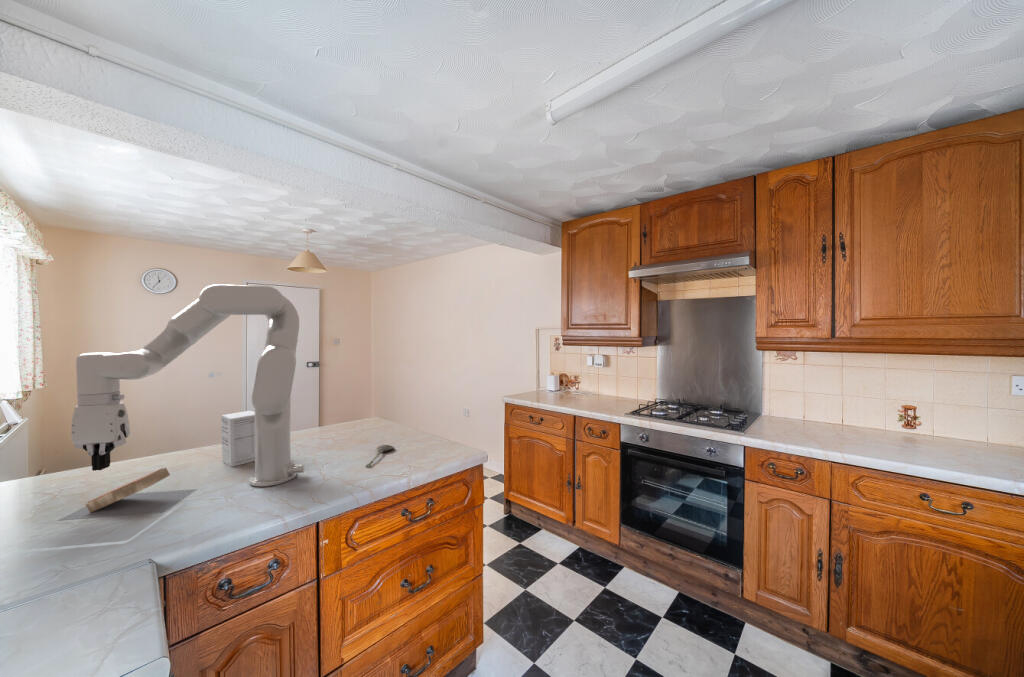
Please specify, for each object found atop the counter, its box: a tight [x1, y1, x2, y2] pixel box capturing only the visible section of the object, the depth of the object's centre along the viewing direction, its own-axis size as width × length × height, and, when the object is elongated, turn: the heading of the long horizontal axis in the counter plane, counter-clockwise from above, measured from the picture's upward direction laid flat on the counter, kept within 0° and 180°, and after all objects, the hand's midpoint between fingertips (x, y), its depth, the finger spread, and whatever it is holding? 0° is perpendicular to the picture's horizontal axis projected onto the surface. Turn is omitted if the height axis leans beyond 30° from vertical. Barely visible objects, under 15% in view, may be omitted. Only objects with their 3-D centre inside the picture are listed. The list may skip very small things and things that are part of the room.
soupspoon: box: [365, 444, 395, 468], centre depth 139 cm, size 22×3×7 cm
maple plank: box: [84, 467, 171, 513], centre depth 100 cm, size 3×8×14 cm
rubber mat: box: [57, 488, 198, 521], centre depth 100 cm, size 22×14×1 cm, turn 101°
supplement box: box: [220, 410, 255, 468], centre depth 134 cm, size 10×9×17 cm
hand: (101, 468), depth 99 cm, fingers closed
